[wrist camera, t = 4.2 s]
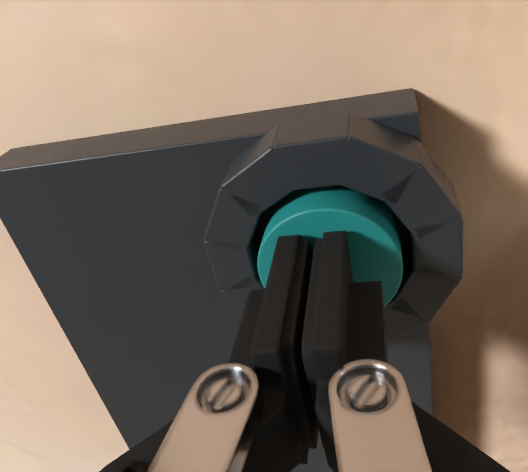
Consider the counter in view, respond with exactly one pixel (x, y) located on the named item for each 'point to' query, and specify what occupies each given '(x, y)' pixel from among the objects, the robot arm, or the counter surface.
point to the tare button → (339, 219)
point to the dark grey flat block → (216, 239)
